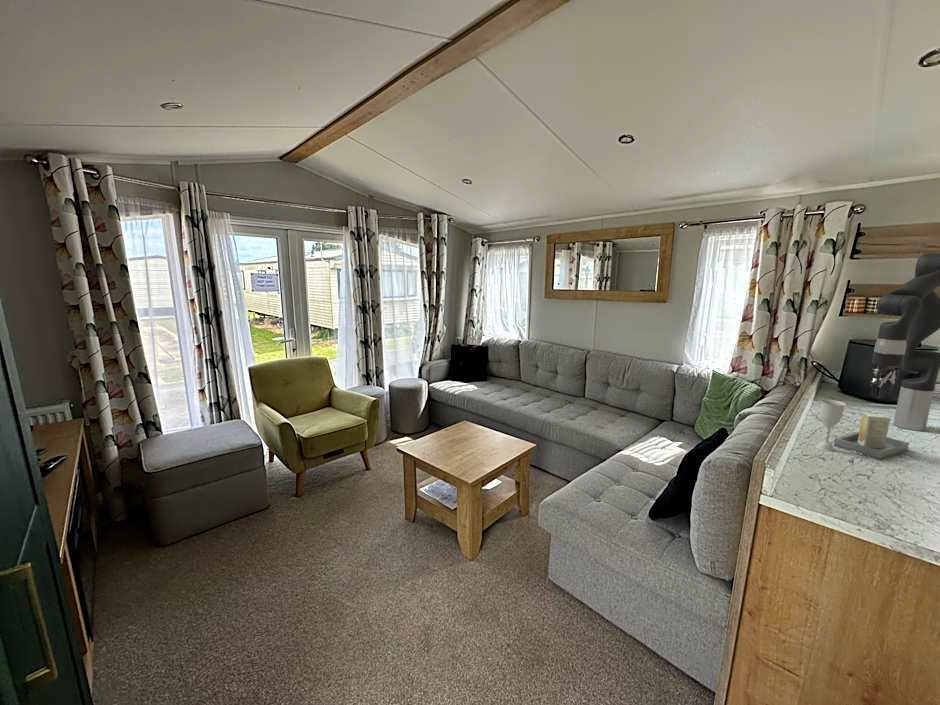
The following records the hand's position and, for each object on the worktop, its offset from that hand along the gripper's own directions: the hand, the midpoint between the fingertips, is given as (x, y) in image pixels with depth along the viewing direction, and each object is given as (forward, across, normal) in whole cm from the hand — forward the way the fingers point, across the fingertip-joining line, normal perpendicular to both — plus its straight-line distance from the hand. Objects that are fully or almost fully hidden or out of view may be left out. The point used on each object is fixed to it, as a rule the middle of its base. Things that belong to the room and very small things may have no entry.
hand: (880, 395), depth 141 cm
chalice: (+21, +16, -6) cm, 27 cm away
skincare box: (+20, 0, 0) cm, 20 cm away
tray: (+21, 0, 0) cm, 21 cm away
